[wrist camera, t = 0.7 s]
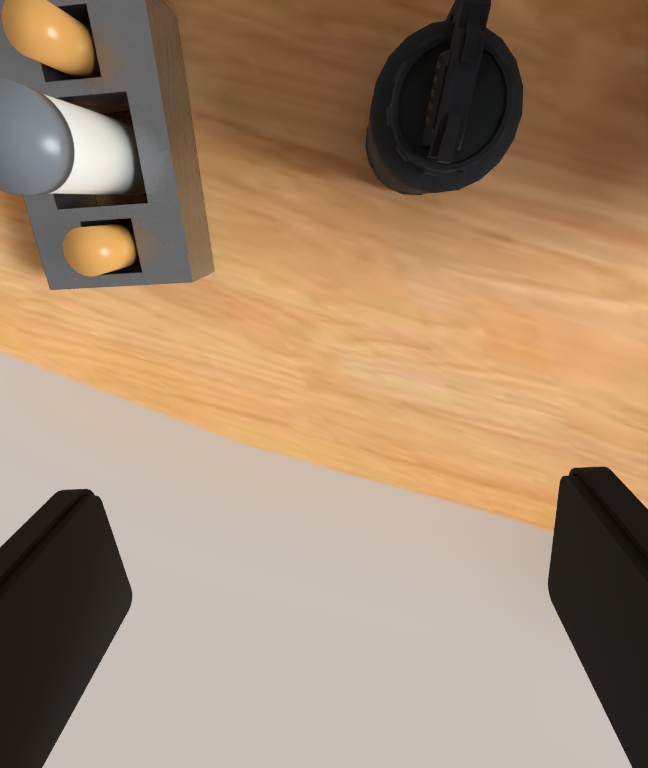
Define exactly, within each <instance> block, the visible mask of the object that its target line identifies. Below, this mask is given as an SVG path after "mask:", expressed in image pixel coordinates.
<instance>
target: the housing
mask: <svg viewBox="0 0 648 768" xmlns="http://www.w3.org/2000/svg"><path fill="white" fill-rule="evenodd" d="M5 1H6V0H0V78H4V79H8V80H11V81H14V82H17V83H20V84H23V85H25V86H28V87H31V88H33V89H35V90H37V91H39V92H41V93H42V94H45V95H47V96H50V97H53V98H56V99H59V100H62V101H65V102H68V103H71V104H74V105H77V106H80V107H83V108H85V109H88V110H91V111H94V112H97V113H107V112H119V111H130V112H131V117H132V122H133V128H134V133H135V138H136V143H137V148H138V153H139V159H140V164H141V169H142V174H143V179H144V185H145V190H146V195H147V200H148V203H144V204H129V205H115V206H101V207H98V204H97V200H96V195H95V194H58V193H48V194H44V195H23V197H24V201H25V204H26V208H27V211H28V215H29V218H30V222H31V225H32V229H33V232H34V235H35V239H36V242H37V246H38V249H39V253H40V256H41V260H42V263H43V267H44V270H45V274H46V277H47V281H48V284H49V288H50V290H59V289H78V288H96V287H114V286H132V285H151V284H169V283H187V282H194V281H196V280H198V279H200V278H202V277H204V276H206V275H208V274H210V273H212V272H214V265H213V258H212V251H211V245H210V238H209V231H208V225H207V218H206V211H205V205H204V198H203V191H202V185H201V178H200V171H199V165H198V158H197V151H196V145H195V138H194V131H193V125H192V118H191V111H190V105H189V98H188V91H187V85H186V78H185V71H184V65H183V58H182V51H181V45H180V38H179V31H178V25H177V18H176V14H175V13H174V12H173V11H172V10H171V9H170V7H169V6H168V5H167V4H166V3H165V2H164V1H163V0H47V1H49V2H50V3H52V4H53V5H55V6H56V7H58V8H59V9H61V10H62V11H64V12H66V13H67V14H69V15H70V16H72V17H73V18H75V19H76V20H78V21H79V22H81V23H82V24H84V25H86V26H87V27H89V28H90V29H92V34H93V38H94V43H95V48H96V53H97V58H98V62H99V67H100V72H101V77H96V78H85V79H77V78H75V77H72V76H70V75H68V74H66V73H63V72H61V71H59V70H57V69H54V68H52V67H50V66H47V65H45V64H43V63H41V62H38V61H36V60H34V59H31V58H29V57H27V56H25V55H23V54H21V53H20V52H19V51H17V50H16V49H15V48H14V47H13V45H12V44H11V43H10V41H9V40H8V38H7V36H6V34H5V31H4V28H3V24H2V9H3V5H4V2H5ZM125 218H131V221H132V225H133V230H134V235H135V240H136V245H137V249H138V254H139V259H140V264H141V265H132V266H128V267H125V268H121V269H118V270H115V271H111V272H108V273H104V274H101V275H97V276H85V275H82V274H80V273H78V272H76V271H75V270H74V269H73V268H72V267H71V266H70V265H69V264H68V262H67V260H66V258H65V256H64V252H63V242H64V239H65V237H66V235H67V234H68V233H69V232H70V231H71V230H73V229H75V228H79V227H89V226H99V225H110V224H119V222H118V219H125Z"/></svg>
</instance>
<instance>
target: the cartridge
mask: <svg viewBox="0 0 648 768" xmlns="http://www.w3.org/2000/svg"><path fill="white" fill-rule="evenodd" d="M0 190H2V191H4V192H7V193H11V194H17V195H44V194H48V193H58V194H99V195H140V194H143V193H145V192H146V190H145V185H144V179H143V174H142V169H141V164H140V159H139V153H138V148H137V143H136V138H135V133H134V128H133V125H132V124H129V123H126V122H123V121H121V120H118V119H115V118H112V117H109V116H106V115H103V114H100V113H97V112H94V111H91V110H88V109H85V108H83V107H80V106H77V105H74V104H71V103H68V102H65V101H62V100H59V99H56V98H53V97H50V96H47V95H45V94H42V93H41V92H39V91H37V90H35V89H33V88H31V87H28V86H25V85H23V84H20V83H17V82H14V81H11V80H8V79H4V78H0Z"/></svg>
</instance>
